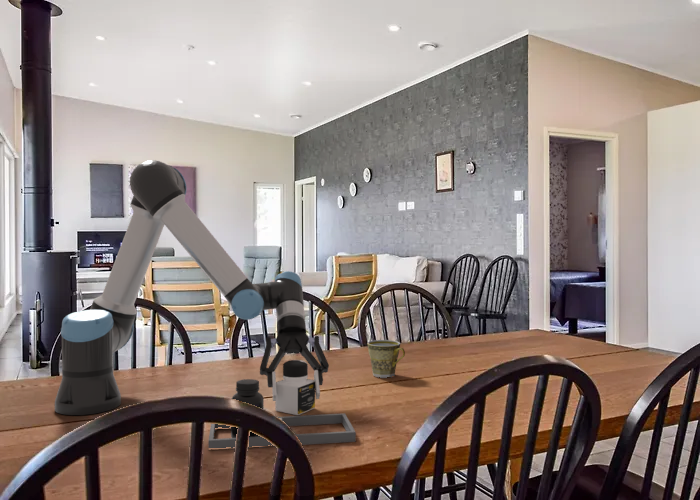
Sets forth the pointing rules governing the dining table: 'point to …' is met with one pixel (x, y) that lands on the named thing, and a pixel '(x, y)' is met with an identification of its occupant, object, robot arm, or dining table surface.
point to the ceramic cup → (384, 357)
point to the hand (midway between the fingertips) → (296, 397)
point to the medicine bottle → (295, 389)
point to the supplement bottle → (248, 397)
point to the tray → (304, 438)
